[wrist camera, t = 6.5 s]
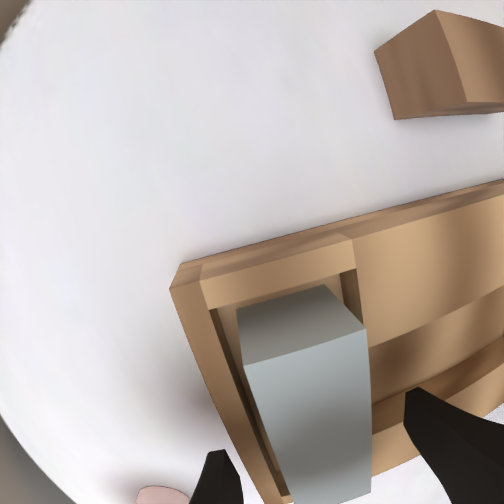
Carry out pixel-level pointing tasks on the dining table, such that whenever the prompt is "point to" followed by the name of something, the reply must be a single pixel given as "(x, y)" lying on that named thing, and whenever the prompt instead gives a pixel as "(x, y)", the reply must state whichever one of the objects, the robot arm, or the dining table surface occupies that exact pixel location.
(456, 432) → the robot arm
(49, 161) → the dining table surface
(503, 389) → the jig
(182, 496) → the smoothie
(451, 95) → the brown wooden block
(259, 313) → the grey square post
